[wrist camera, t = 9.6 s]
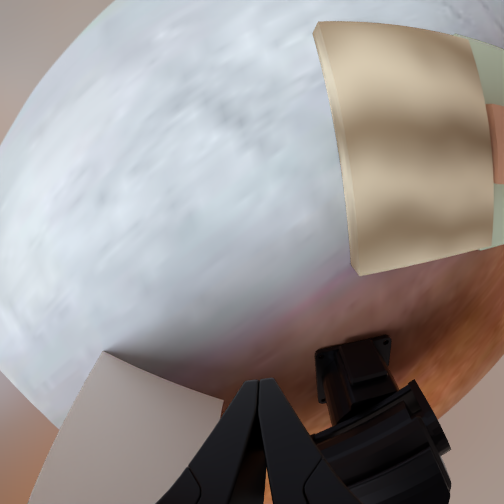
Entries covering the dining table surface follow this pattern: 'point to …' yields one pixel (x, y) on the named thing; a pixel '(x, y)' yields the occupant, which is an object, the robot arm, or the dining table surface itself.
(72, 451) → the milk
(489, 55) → the mat
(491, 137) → the tile
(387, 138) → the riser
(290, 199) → the dining table surface
